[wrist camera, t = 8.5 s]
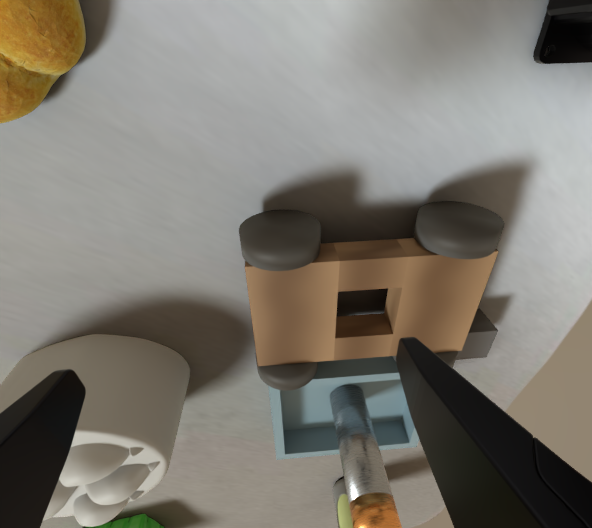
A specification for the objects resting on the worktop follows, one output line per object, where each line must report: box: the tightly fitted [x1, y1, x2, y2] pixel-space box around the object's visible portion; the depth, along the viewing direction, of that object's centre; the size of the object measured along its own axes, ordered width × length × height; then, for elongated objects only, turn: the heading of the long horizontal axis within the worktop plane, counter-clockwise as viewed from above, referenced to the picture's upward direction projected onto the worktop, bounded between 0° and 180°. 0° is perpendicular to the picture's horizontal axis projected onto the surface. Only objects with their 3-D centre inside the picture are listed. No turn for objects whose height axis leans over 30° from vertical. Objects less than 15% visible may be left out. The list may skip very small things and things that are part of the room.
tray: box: [268, 356, 419, 460], centre depth 28 cm, size 13×11×3 cm
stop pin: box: [330, 384, 402, 528], centre depth 25 cm, size 3×3×10 cm
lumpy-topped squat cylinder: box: [0, 334, 190, 527], centre depth 23 cm, size 10×13×9 cm
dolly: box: [239, 201, 504, 391], centre depth 21 cm, size 17×12×4 cm
